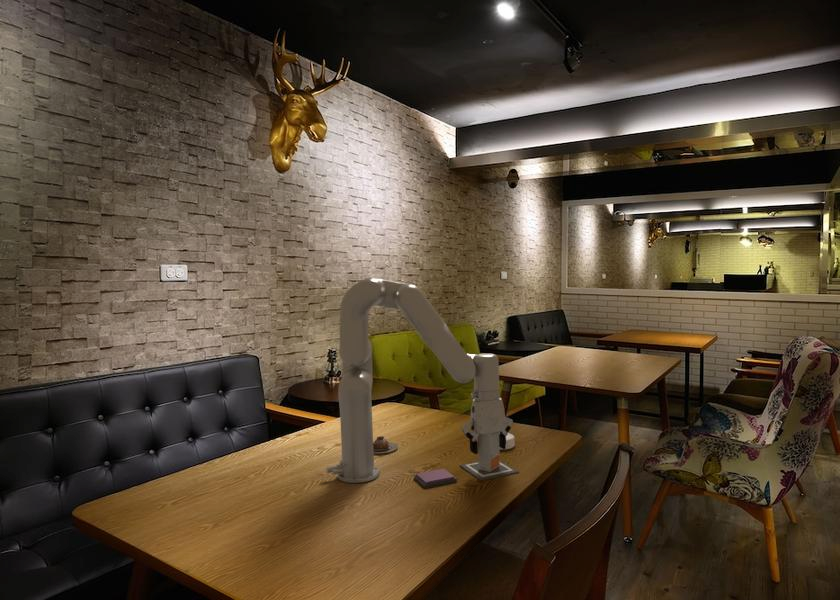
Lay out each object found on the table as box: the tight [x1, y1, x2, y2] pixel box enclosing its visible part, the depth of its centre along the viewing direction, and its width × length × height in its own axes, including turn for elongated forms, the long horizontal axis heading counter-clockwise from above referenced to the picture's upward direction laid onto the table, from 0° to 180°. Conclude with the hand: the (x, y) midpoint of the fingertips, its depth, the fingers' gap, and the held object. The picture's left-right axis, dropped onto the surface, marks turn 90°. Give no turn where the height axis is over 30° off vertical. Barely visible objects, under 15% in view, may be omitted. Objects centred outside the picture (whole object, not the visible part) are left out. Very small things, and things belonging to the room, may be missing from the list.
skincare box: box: [477, 432, 501, 472], centre depth 162 cm, size 6×4×12 cm
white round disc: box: [499, 432, 516, 451], centre depth 184 cm, size 10×10×4 cm
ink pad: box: [413, 468, 458, 489], centre depth 155 cm, size 10×8×2 cm
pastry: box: [373, 435, 398, 456], centre depth 184 cm, size 12×12×5 cm
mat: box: [459, 460, 520, 482], centre depth 162 cm, size 13×13×1 cm
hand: (488, 450), depth 162 cm, fingers open, 9 cm apart
